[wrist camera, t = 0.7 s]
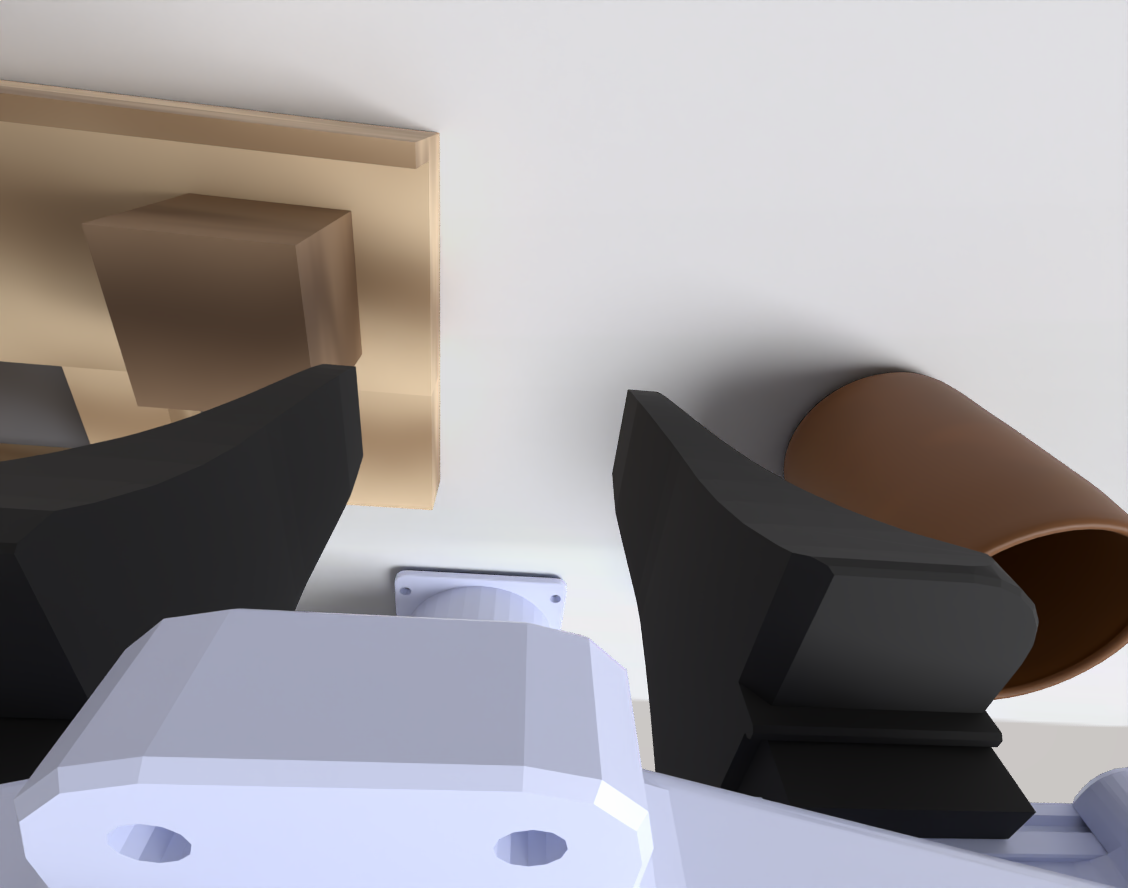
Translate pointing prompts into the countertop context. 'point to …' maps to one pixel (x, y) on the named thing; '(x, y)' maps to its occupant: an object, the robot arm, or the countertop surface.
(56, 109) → the platform
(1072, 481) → the mug
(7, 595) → the robot arm
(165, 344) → the walnut block
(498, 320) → the countertop surface
